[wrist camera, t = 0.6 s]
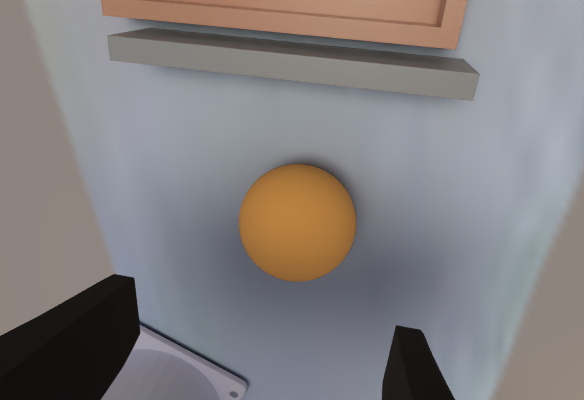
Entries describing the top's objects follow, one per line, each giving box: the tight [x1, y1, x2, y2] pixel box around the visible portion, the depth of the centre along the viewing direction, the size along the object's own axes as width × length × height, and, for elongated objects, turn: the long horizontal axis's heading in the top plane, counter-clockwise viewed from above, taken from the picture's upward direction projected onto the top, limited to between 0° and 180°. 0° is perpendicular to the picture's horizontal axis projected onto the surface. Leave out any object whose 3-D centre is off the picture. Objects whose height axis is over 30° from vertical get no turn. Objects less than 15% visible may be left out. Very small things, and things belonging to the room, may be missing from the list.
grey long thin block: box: [107, 28, 480, 101], centre depth 15 cm, size 1×12×3 cm, turn 86°
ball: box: [239, 164, 356, 282], centre depth 17 cm, size 5×5×5 cm
